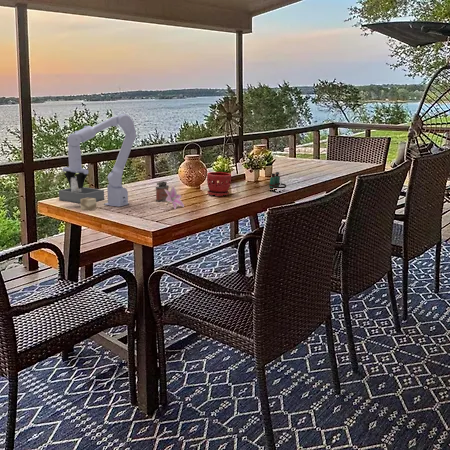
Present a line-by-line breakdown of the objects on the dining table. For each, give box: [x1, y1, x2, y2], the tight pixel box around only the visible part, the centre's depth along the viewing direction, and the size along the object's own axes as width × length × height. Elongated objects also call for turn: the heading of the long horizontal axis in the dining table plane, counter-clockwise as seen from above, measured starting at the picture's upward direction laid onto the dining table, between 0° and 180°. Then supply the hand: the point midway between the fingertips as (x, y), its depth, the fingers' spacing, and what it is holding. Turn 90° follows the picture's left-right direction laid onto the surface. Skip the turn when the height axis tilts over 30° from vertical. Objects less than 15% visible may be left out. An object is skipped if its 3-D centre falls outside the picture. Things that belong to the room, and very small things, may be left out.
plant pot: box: [206, 171, 232, 197], centre depth 280 cm, size 13×13×12 cm
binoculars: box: [268, 171, 287, 190], centre depth 294 cm, size 9×11×10 cm
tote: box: [58, 186, 105, 205], centre depth 262 cm, size 18×14×5 cm
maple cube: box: [80, 197, 97, 211], centre depth 243 cm, size 5×5×5 cm
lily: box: [164, 185, 185, 210], centre depth 250 cm, size 12×12×10 cm
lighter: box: [155, 180, 170, 203], centre depth 263 cm, size 8×3×10 cm, turn 141°
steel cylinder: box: [70, 175, 82, 193], centre depth 247 cm, size 5×5×7 cm
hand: (76, 187), depth 247 cm, fingers closed on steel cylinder, 5 cm apart
